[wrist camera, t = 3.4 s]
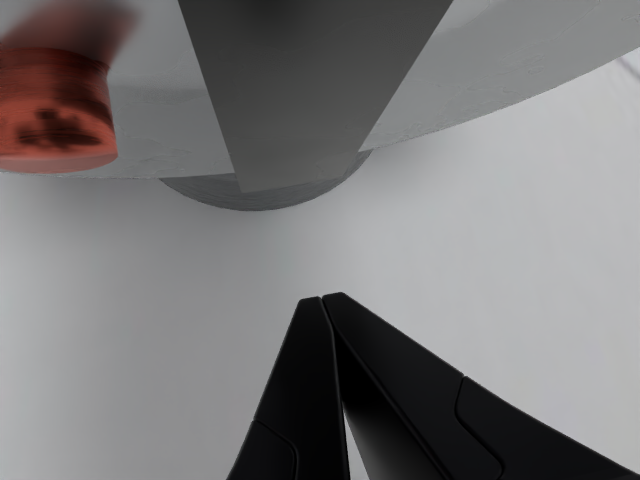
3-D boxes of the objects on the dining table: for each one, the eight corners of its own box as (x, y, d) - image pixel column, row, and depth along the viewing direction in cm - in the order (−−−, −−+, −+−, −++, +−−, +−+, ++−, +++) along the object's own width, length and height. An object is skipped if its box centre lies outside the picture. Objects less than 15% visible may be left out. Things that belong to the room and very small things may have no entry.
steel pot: (481, 195, 24) (567, 101, 17) (61, 264, 22) (-60, 193, 14) (407, -38, 29) (448, -196, 21) (51, 0, 27) (-46, -161, 19)
